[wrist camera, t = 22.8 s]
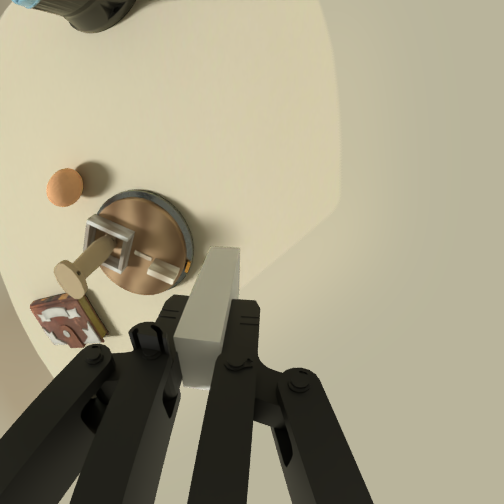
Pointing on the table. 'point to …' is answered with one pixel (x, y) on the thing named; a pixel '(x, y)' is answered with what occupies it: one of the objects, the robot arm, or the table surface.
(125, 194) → the base
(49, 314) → the book
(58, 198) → the egg
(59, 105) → the table surface
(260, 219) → the table surface
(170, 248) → the dial
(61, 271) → the handle
